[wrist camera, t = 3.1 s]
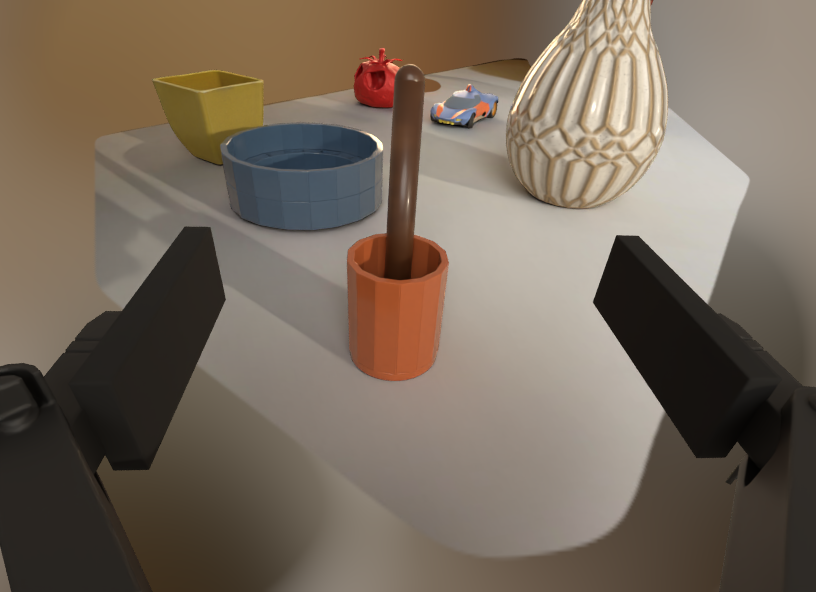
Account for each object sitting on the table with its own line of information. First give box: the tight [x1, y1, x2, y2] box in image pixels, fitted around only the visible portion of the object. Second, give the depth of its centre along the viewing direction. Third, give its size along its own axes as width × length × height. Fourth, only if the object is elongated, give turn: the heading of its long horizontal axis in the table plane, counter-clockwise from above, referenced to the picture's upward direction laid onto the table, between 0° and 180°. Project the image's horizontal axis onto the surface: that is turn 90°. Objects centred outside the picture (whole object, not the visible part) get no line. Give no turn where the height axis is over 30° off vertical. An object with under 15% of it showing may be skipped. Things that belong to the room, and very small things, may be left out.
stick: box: [384, 65, 425, 280], centre depth 26 cm, size 2×2×16 cm
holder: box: [347, 233, 449, 381], centre depth 28 cm, size 6×6×7 cm
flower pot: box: [152, 70, 263, 165], centre depth 55 cm, size 9×9×9 cm
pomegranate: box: [354, 48, 401, 108], centre depth 82 cm, size 10×10×9 cm
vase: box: [506, 0, 668, 209], centre depth 48 cm, size 16×16×20 cm
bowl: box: [220, 123, 383, 230], centre depth 46 cm, size 15×15×6 cm
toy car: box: [431, 85, 498, 128], centre depth 77 cm, size 8×15×5 cm, turn 151°
